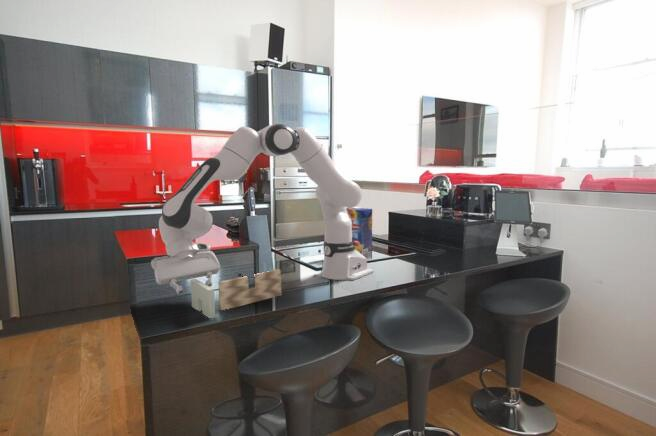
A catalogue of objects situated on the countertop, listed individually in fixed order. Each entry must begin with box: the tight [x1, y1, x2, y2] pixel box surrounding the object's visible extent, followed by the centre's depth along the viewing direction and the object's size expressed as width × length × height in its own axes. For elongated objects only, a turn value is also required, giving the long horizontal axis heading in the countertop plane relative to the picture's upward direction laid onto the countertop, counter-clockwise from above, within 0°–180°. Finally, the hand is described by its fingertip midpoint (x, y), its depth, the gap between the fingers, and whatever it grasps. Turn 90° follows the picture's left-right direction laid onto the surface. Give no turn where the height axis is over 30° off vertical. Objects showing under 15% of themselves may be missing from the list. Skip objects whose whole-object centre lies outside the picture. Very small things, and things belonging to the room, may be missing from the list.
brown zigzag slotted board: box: [218, 268, 282, 311], centre depth 127 cm, size 22×2×9 cm, turn 130°
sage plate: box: [189, 278, 216, 319], centre depth 118 cm, size 2×14×9 cm, turn 41°
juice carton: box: [346, 206, 373, 261], centre depth 185 cm, size 12×8×24 cm, turn 42°
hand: (195, 289), depth 122 cm, fingers open, 8 cm apart
